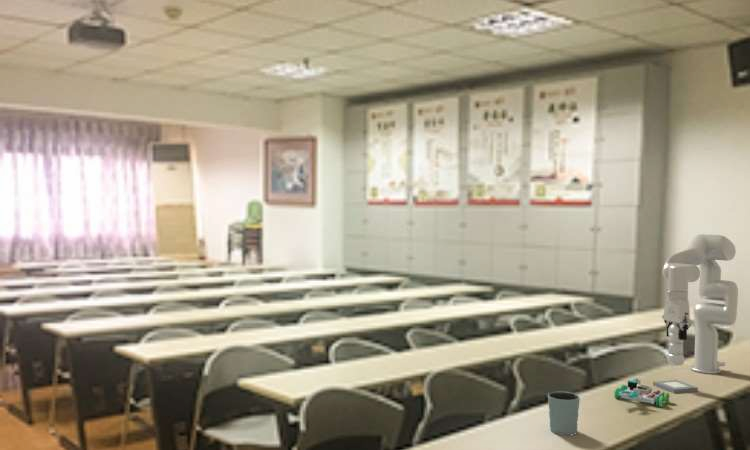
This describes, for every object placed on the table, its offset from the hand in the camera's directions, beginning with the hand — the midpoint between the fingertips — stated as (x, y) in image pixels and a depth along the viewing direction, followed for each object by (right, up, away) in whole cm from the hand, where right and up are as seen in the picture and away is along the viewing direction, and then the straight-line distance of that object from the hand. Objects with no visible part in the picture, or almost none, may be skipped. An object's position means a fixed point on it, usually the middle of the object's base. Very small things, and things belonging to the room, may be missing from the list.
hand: (676, 337), depth 272 cm
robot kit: (-24, -22, -21) cm, 39 cm away
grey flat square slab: (0, -21, +1) cm, 21 cm away
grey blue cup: (-63, -22, -54) cm, 86 cm away
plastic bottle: (0, -12, 0) cm, 12 cm away
